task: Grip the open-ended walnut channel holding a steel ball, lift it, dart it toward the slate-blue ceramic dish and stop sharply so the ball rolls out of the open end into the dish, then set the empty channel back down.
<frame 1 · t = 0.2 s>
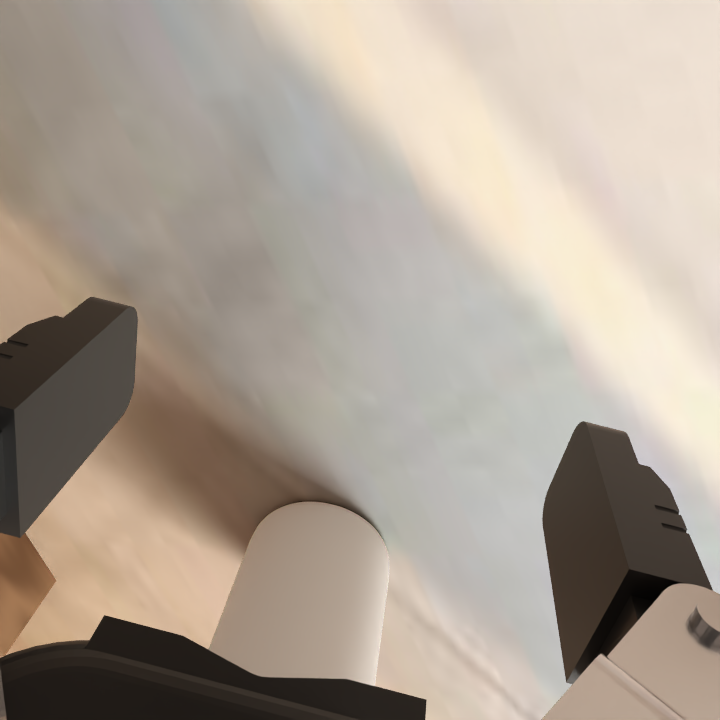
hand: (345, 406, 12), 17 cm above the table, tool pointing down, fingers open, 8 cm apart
pill bottle: (322, 548, 38), on the table
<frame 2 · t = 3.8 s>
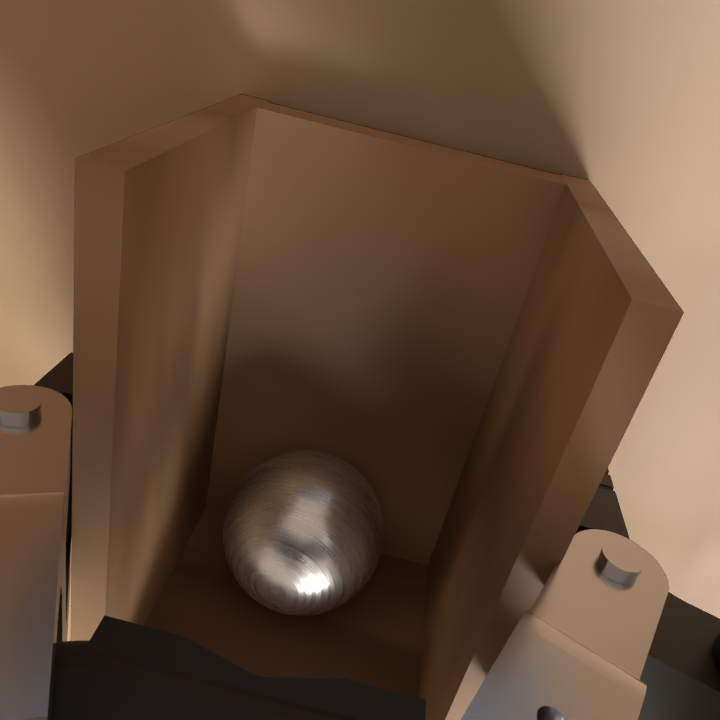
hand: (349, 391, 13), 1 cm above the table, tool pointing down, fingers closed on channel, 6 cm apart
ball: (304, 530, 13), point 2 cm above the table, tilted 9°, touching channel
channel: (358, 366, 13), on the table, touching ball, gripper
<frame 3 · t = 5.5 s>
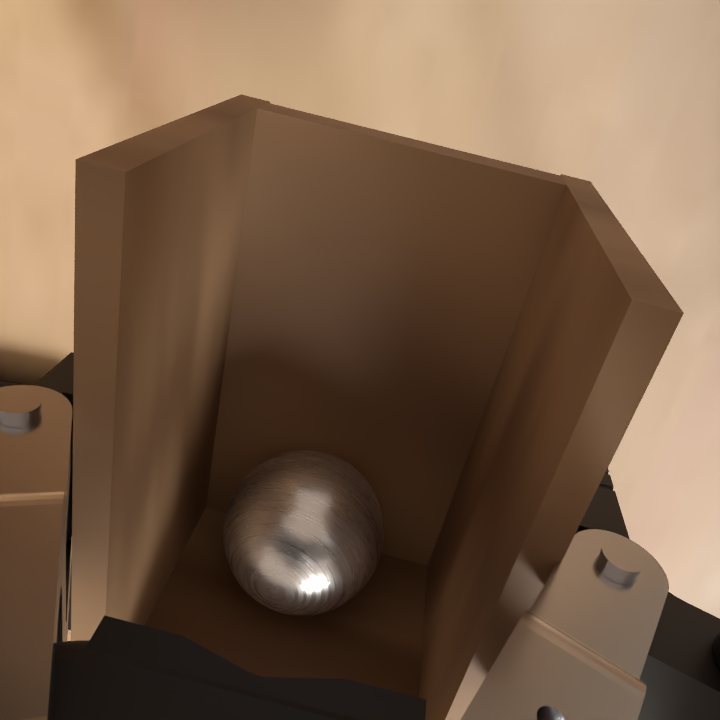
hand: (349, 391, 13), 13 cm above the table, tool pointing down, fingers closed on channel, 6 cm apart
ball: (304, 530, 13), point 14 cm above the table, tilted 9°, touching channel
channel: (358, 367, 13), point 12 cm above the table, touching ball, gripper
when the fingers open (2 cm above the table, at t = 14.0 s): channel drops 1 cm, on the table.
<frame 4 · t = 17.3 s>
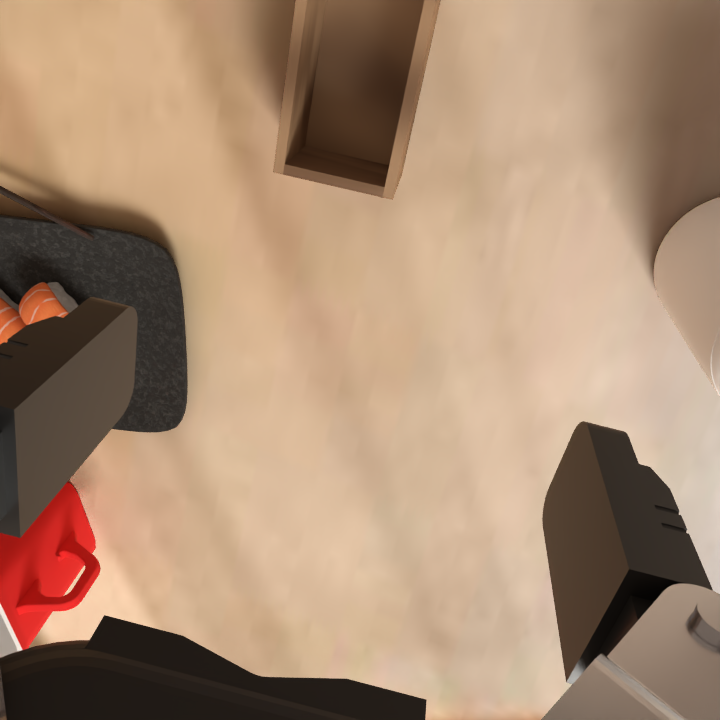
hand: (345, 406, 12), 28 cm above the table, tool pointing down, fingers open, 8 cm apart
mug: (65, 514, 54), on the table
channel: (365, 77, 36), on the table
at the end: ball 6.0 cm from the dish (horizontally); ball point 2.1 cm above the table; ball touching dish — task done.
